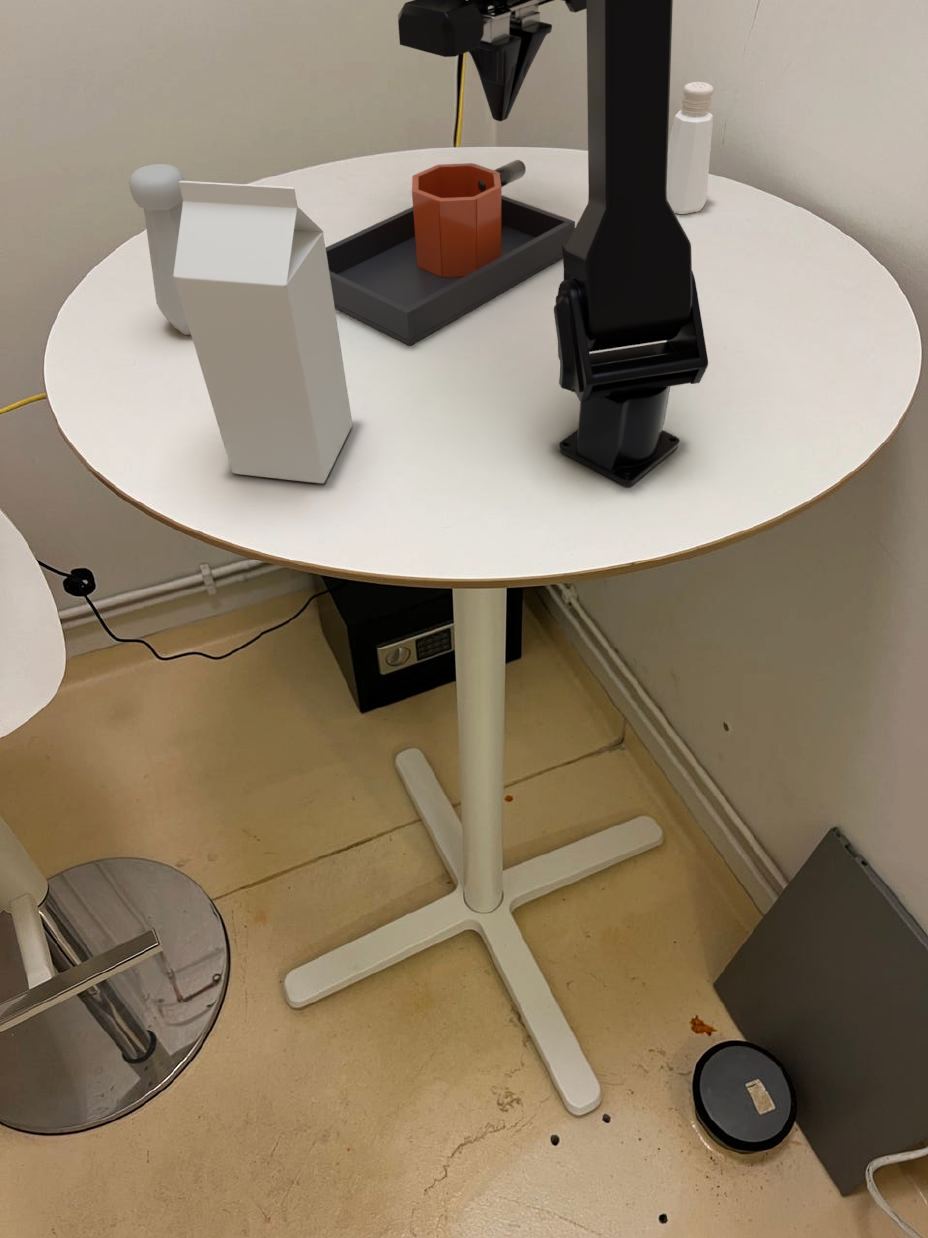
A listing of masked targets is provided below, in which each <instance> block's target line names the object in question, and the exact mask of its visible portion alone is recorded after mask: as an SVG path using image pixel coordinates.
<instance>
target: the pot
mask: <svg viewBox="0 0 928 1238" xmlns="http://www.w3.org/2000/svg"><path fill="white" fill-rule="evenodd" d="M526 171H527V169H526V165H525V163H524V161H522V160H521V159H515V160H512V161H510V162H509V163H507V164H504V165H502V166H500V167H498V168H495V169H492V168H488V167H485V166H483V165H480V164H476V163H472V162H469V163H468V162H467V163H466V162H465V163H445V164H436V165H433V166H431V167H429V168H427V169H425V170H423V171H420V172H418V173H416V174H414V175H412V177H411V197H412V207H413V213H414V227H415V241H416V255H417V266H418V267H419V268H422V269H424V270H426V271H428V272H431V273H433V274H435V275H438V276H440V277H465V276H467V275H468V274H470V273H472V272H474V271H476V270H478V269H479V268H481V267H483V266H485V265H487V264H489V263H490V262H492V261H494V260H496V259H498V258H500V257H501V195H502V188H503V187H504V186H507V185H509V184H511V183H513V182H515V181H517V180H519V179H521V178H523V177H524V175H525V174H526Z"/></svg>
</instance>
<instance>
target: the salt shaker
mask: <svg viewBox="0 0 928 1238" xmlns="http://www.w3.org/2000/svg"><path fill="white" fill-rule="evenodd" d="M179 181H186V179H185V176H184V174H183V172H181V170H180V169H179V168H177V167H176V166H174V165H171V164H168V163H167V164H166V163H156V164H148V165H145V166H142V167H139V168H137V169H136V170H134V171H133V172H132V174H131V176H130V178H129V180H128V185H129V192H130V194H131V196H132V197H131V198H132V200H133V201H134V202H135V203H136V205H137V206H138V207H139V208H142V209H143V214H144V222H145V228H146V235H147V242H148V250H149V257H150V264H151V265H150V266H151V273H152V279H153V287H154V294H155V301H156V305H157V307H158V309H159V311H160V312H161V314H162V315H163V316H164V318H166V319H167V321H168V322H169V323H170V324H171V325H172V327H173V328H174V329H176V331H178V332H180V333H181V334H182V335H184V336H191V333H190V329H189V326H188V323H187V319H186V316H185V312H184V309H183V306H182V302H181V299H180V296H179V292H178V289H177V286H176V282H175V279H174V277H173V274H174V266H175V259H176V251H177V244H178V236H179V229H180V221H181V213H182V206H183V198H182V194H181V191H180V187H179Z"/></svg>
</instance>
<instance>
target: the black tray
mask: <svg viewBox="0 0 928 1238" xmlns="http://www.w3.org/2000/svg"><path fill="white" fill-rule="evenodd" d="M569 228H576V221H575V220H572V219H569V218H567V217H564V216H561V215H558V214H555V213H553V212H550V211H547V210H545V209H542V208H539V207H536V206H533V205H530V204H528V203H525V202H522V201H519V200H516V199H514V198H511V197H508V196H506V195H502V194H501V257H500V258H498V259H496V260H494V261H492V262H490V263H489V264H487V265H485V266H483V267H481V268H479V269H478V270H476V271H474V272H472V273H470V274H468V275H467V276H465V277H440V276H438V275H435V274H433V273H431V272H428V271H426V270H424V269H422V268H419V267H418V266H417V255H416V241H415V227H414V213H413V206H411V207H409V208H407V209H405V210H403V211H400V212H398V213H396V214H394V215H392V216H390V217H387V218H386V219H384V220H382V221H378V222H377V223H375V224H373V225H371V226H368V227H366V228H364V229H362V230H360V231H358V232H355V233H354V234H351V235H349V236H347V237H345V238H343V239H340V240H339V241H336V242H335V243H332V244H330V245H327V246H325V248H326V254H327V260H328V267H329V274H330V280H331V287H332V293H333V300H334V306H335V310H338V311H340V312H342V313H344V314H346V315H348V316H350V317H352V318H354V319H356V320H358V321H360V322H362V323H364V324H366V325H368V326H370V327H372V328H374V329H376V330H378V331H380V332H382V333H384V334H386V335H387V336H390V337H392V338H394V339H396V340H398V341H400V342H402V343H403V344H405V345H407V346H412V345H414V344H415V343H417V342H419V341H420V340H423V339H424V338H426V337H428V336H429V335H431V334H433V333H434V332H437V331H438V330H440V329H442V328H443V327H445V326H447V325H449V324H450V323H452V322H454V321H455V320H457V319H459V318H461V317H462V316H465V315H466V314H468V313H470V312H471V311H473V310H475V309H477V308H478V307H480V306H482V305H483V304H486V303H487V302H489V301H490V300H492V299H494V298H495V297H497V296H499V295H501V294H502V293H504V292H506V291H508V290H509V289H511V288H513V287H514V286H517V285H518V284H520V283H522V282H523V281H526V280H527V279H529V278H530V277H532V276H534V275H536V274H537V273H539V272H541V271H543V270H544V269H546V268H548V267H549V266H552V265H553V264H555V263H557V262H558V261H561V260H563V251H562V242H563V240H564V237H565V234H566V232H567V230H568V229H569Z"/></svg>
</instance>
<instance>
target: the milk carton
mask: <svg viewBox="0 0 928 1238" xmlns="http://www.w3.org/2000/svg"><path fill="white" fill-rule="evenodd" d="M179 187H180V191H181V194H182V198H183V202H182V203H183V206H182V213H181V221H180V229H179V236H178V244H177V251H176V259H175V266H174V274H173V277H174V279H175V282H176V286H177V289H178V292H179V296H180V299H181V302H182V306H183V309H184V312H185V316H186V319H187V323H188V326H189V329H190V333H191V335H190V336H191V340H192V342H193V346H194V349H195V352H196V355H197V359H198V362H199V366H200V369H201V373H202V377H203V379H204V380H203V381H204V383H205V386H206V391H207V393H208V396H209V399H210V403H211V407H212V411H213V413H214V417H215V419H216V420H215V421H216V424H217V426H218V429H219V433H220V436H221V440H222V443H223V447H224V450H225V454H226V457H227V461H228V463H229V467H230V470H231V472H232V473H233V474H236V475H242V476H243V475H244V476H253V477H261V478H270V479H278V480H288V481H296V482H305V483H314V484H325V482H326V481H327V479H328V476H329V475H330V472H331V471H332V468H333V466H334V464H335V462H336V460H337V458H338V456H339V453H340V451H341V450H342V447H343V446H344V443H345V442H346V440H347V436H349V433H350V431H351V429H352V428H353V427H352V426H353V419H352V411H351V405H350V404H351V403H350V398H349V393H348V386H347V377H346V373H345V367H344V360H343V353H342V346H341V339H340V333H339V326H338V320H337V313H336V308H335V306H334V300H333V293H332V287H331V280H330V274H329V267H328V260H327V254H326V242H325V237H324V230H323V229H322V228H321V227H320V226H319V225H318V224H317V223H316V222H315V221H313V220H312V219H311V217H309V216H308V215H307V214H306V213H305V212H304V211H303V210H302V209H301V208H300V207H299V206H298V202H297V201H298V200H297V195H296V189H295V187H293V186H280V185H265V184H264V185H263V184H244V183H230V182H229V183H228V182H227V183H226V182H212V181H211V182H210V181H192V180H190V181H189V180H185V181H179Z"/></svg>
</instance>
